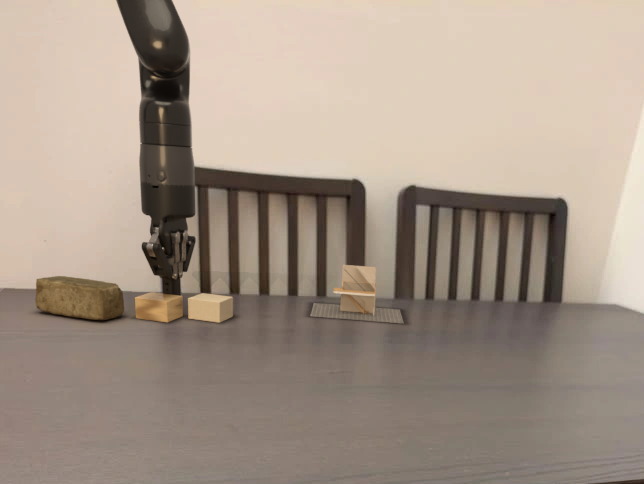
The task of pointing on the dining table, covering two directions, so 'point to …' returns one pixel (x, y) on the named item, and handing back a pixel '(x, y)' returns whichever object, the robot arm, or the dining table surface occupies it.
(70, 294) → the stone block
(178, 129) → the robot arm
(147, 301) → the birch block
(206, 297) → the cream block
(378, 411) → the dining table surface
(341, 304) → the architectural model
